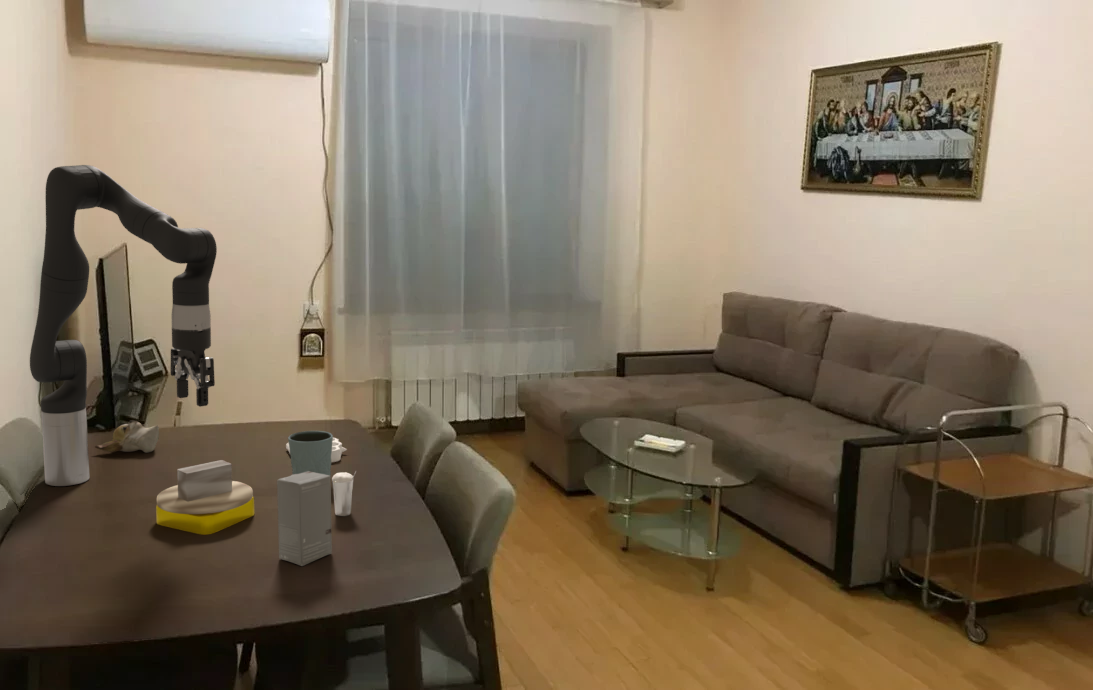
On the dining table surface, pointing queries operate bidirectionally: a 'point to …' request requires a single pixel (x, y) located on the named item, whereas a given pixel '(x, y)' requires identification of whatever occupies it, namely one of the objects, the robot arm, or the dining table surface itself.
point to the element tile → (205, 519)
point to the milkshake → (342, 493)
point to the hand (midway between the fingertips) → (192, 401)
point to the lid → (205, 490)
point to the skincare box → (304, 517)
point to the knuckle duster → (336, 450)
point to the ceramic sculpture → (132, 438)
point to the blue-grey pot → (311, 452)
